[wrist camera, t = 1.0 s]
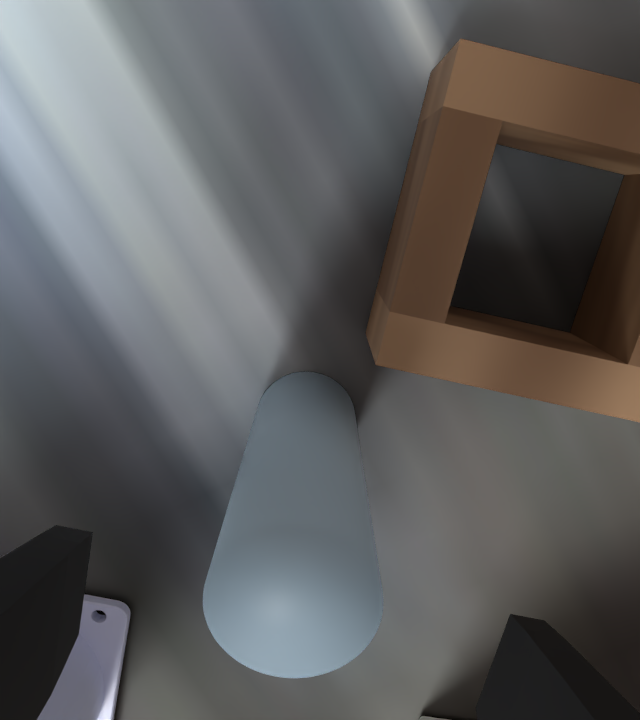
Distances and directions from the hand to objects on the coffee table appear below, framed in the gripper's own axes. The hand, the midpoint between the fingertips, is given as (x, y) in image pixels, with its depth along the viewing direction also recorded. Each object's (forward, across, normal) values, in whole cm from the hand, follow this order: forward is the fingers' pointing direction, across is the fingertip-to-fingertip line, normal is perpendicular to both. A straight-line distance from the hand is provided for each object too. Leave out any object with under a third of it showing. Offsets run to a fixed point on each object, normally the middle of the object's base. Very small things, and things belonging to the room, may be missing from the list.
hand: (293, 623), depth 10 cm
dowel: (+10, 0, 0) cm, 10 cm away
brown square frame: (+10, -5, -7) cm, 13 cm away
